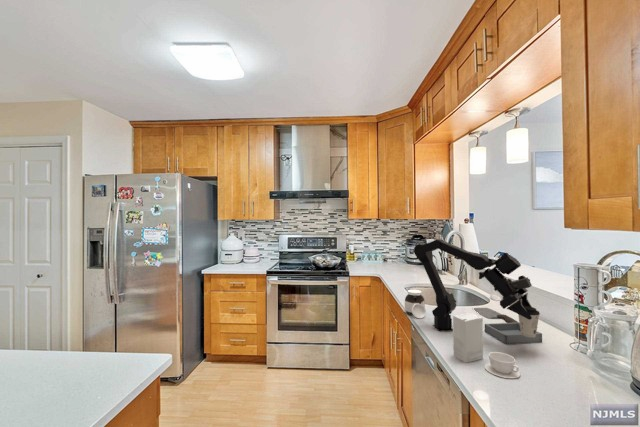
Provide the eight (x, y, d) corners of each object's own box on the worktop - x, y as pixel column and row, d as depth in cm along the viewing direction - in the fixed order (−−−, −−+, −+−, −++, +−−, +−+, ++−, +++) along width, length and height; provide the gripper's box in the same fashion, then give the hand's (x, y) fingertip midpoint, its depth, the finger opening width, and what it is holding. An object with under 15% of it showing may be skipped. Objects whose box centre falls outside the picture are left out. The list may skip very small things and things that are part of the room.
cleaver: (527, 329, 132) (527, 324, 132) (506, 329, 132) (506, 324, 132) (486, 309, 162) (486, 305, 162) (469, 309, 161) (469, 305, 161)
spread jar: (414, 310, 159) (414, 288, 159) (433, 315, 150) (433, 292, 150) (399, 314, 152) (399, 291, 152) (418, 320, 143) (418, 296, 143)
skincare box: (470, 352, 109) (469, 311, 110) (484, 359, 104) (483, 317, 104) (452, 355, 107) (452, 314, 107) (465, 363, 101) (465, 320, 101)
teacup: (477, 368, 98) (477, 354, 98) (496, 361, 103) (495, 347, 103) (508, 383, 89) (508, 367, 89) (527, 374, 94) (527, 360, 94)
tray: (505, 344, 116) (505, 335, 116) (484, 331, 129) (484, 323, 129) (542, 342, 118) (542, 333, 118) (517, 330, 130) (517, 322, 130)
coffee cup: (543, 339, 106) (543, 311, 106) (521, 337, 108) (521, 310, 108) (535, 332, 113) (535, 306, 113) (514, 330, 115) (514, 304, 115)
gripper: (510, 272, 106) (548, 310, 99) (521, 266, 120) (555, 299, 112) (485, 290, 112) (520, 327, 104) (499, 282, 125) (530, 314, 117)
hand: (532, 316), depth 109 cm, fingers closed on coffee cup, 7 cm apart
